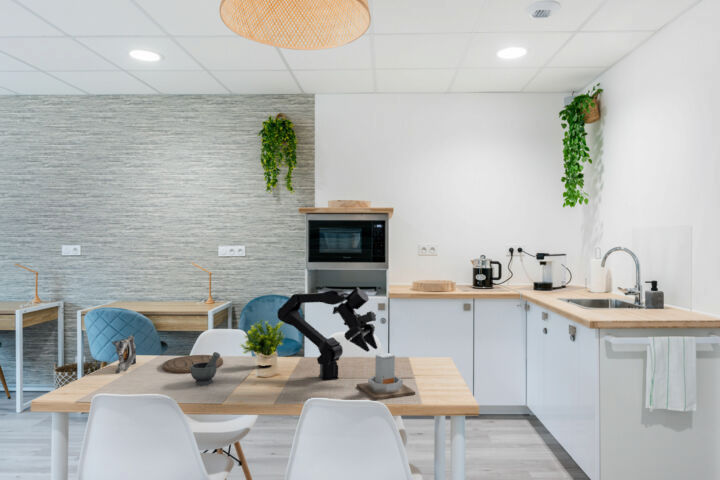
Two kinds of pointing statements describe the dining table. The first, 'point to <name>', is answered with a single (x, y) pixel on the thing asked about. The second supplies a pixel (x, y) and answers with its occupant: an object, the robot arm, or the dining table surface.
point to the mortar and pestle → (205, 371)
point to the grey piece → (125, 353)
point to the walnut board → (378, 396)
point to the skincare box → (385, 368)
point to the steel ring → (385, 385)
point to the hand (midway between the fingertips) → (372, 349)
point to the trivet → (187, 363)
